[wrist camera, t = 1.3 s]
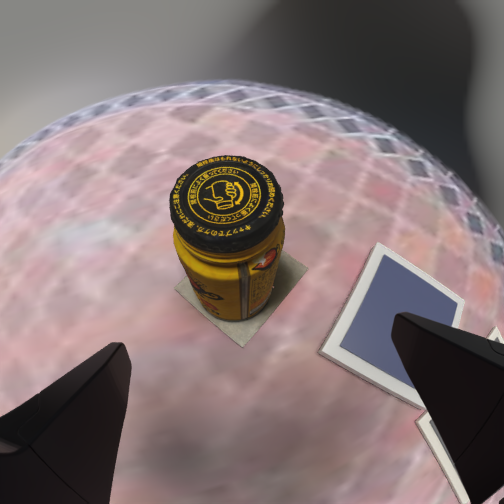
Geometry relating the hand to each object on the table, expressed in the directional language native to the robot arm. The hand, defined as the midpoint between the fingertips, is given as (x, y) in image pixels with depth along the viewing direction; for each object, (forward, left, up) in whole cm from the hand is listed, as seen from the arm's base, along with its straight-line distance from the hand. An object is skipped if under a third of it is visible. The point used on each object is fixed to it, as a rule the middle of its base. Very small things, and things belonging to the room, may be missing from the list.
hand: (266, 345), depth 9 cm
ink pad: (+1, -13, -13) cm, 18 cm away
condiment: (+7, 0, -13) cm, 15 cm away
